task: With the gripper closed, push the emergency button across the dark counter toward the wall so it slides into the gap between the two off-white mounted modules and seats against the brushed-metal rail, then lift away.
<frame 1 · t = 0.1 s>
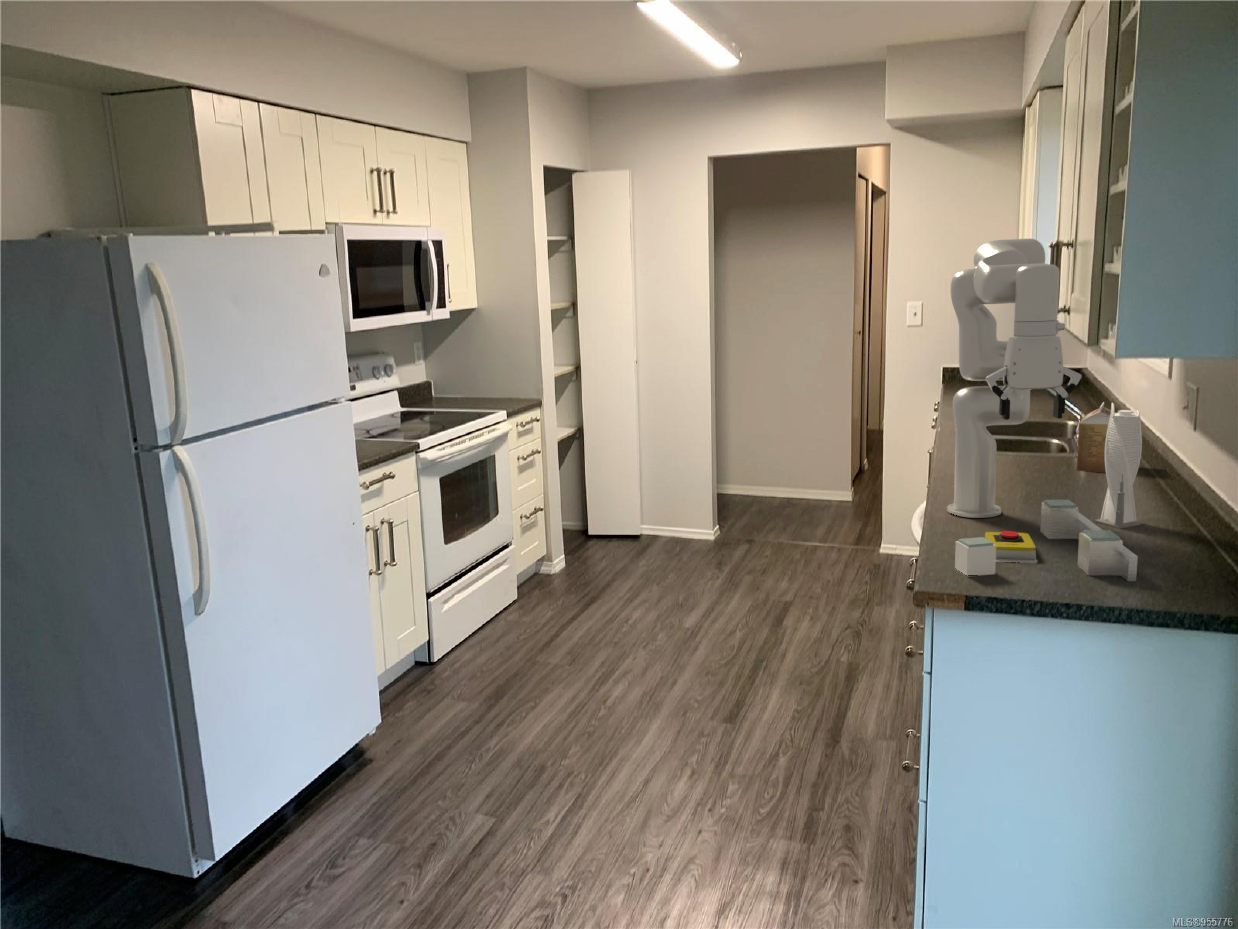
hand: (1031, 418, 177), 31 cm above the counter, tool pointing down, fingers open, 9 cm apart
milk carton: (1098, 468, 267), on the counter
emergency button: (1009, 555, 195), on the counter
rail fixture: (1096, 551, 192), on the counter
skyscraper: (1117, 522, 212), on the counter
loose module: (974, 571, 184), on the counter
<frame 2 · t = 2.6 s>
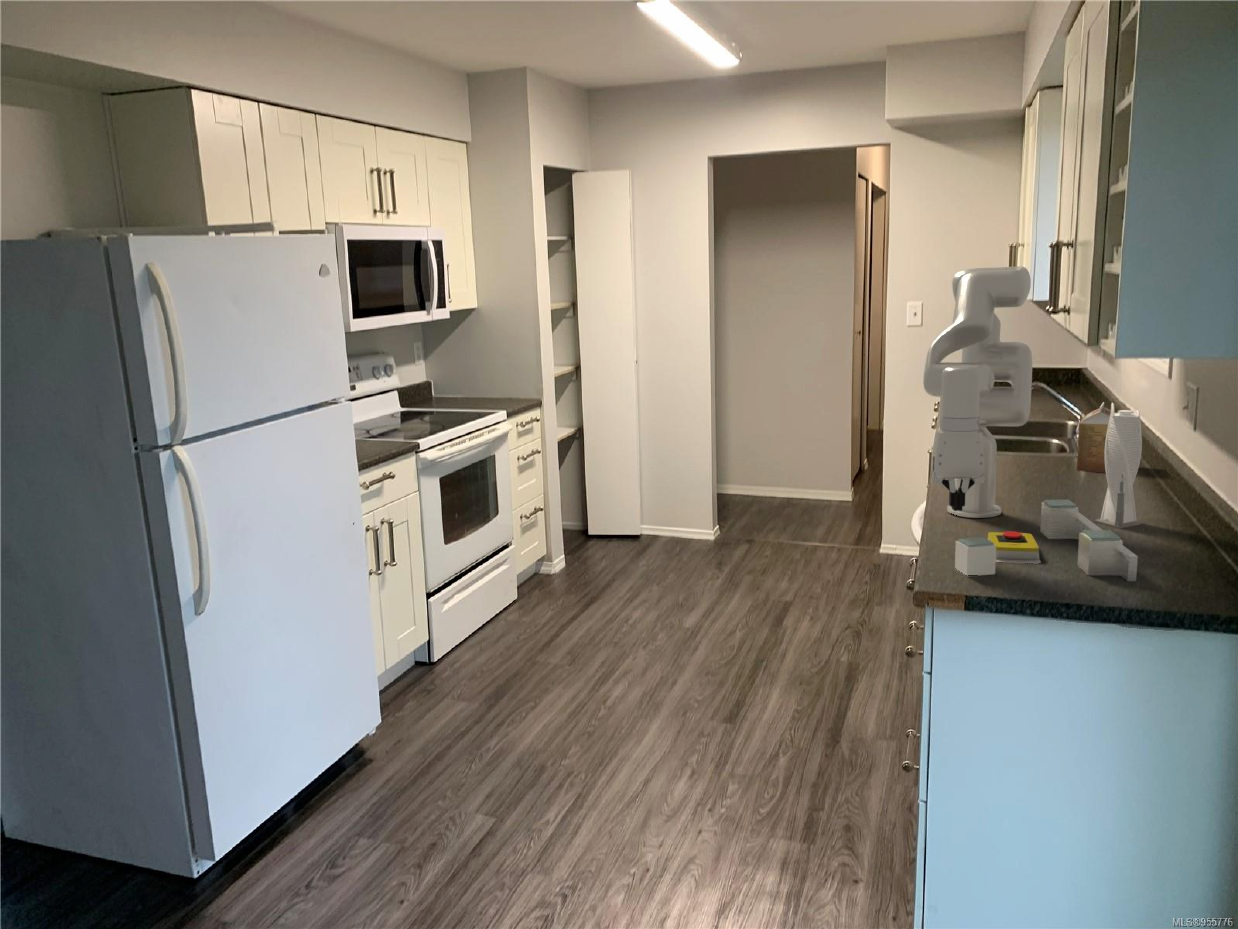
hand: (956, 509, 194), 10 cm above the counter, tool pointing down, fingers closed
nothing on the counter moved.
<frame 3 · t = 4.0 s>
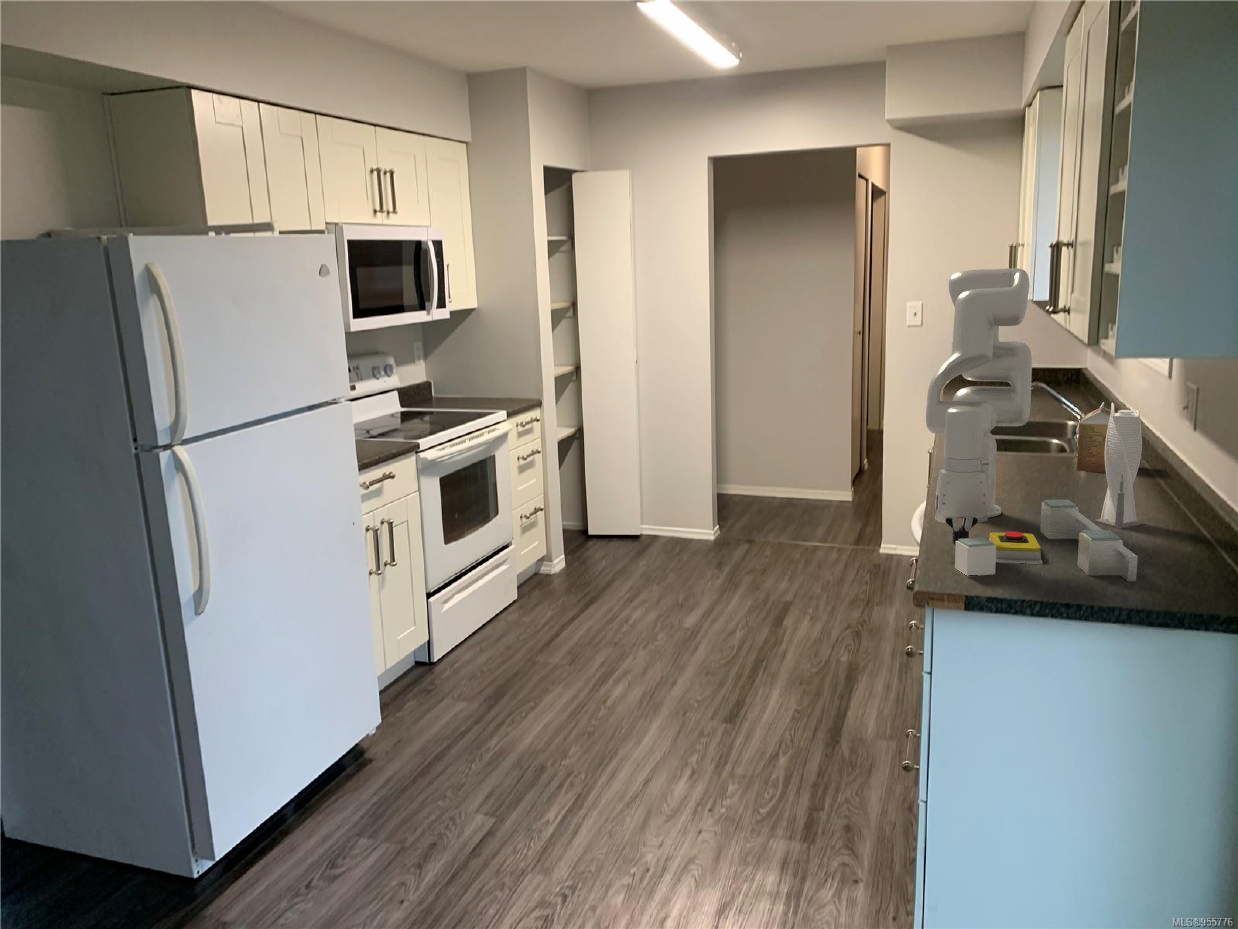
hand: (960, 547, 196), 1 cm above the counter, tool pointing down, fingers closed
nothing on the counter moved.
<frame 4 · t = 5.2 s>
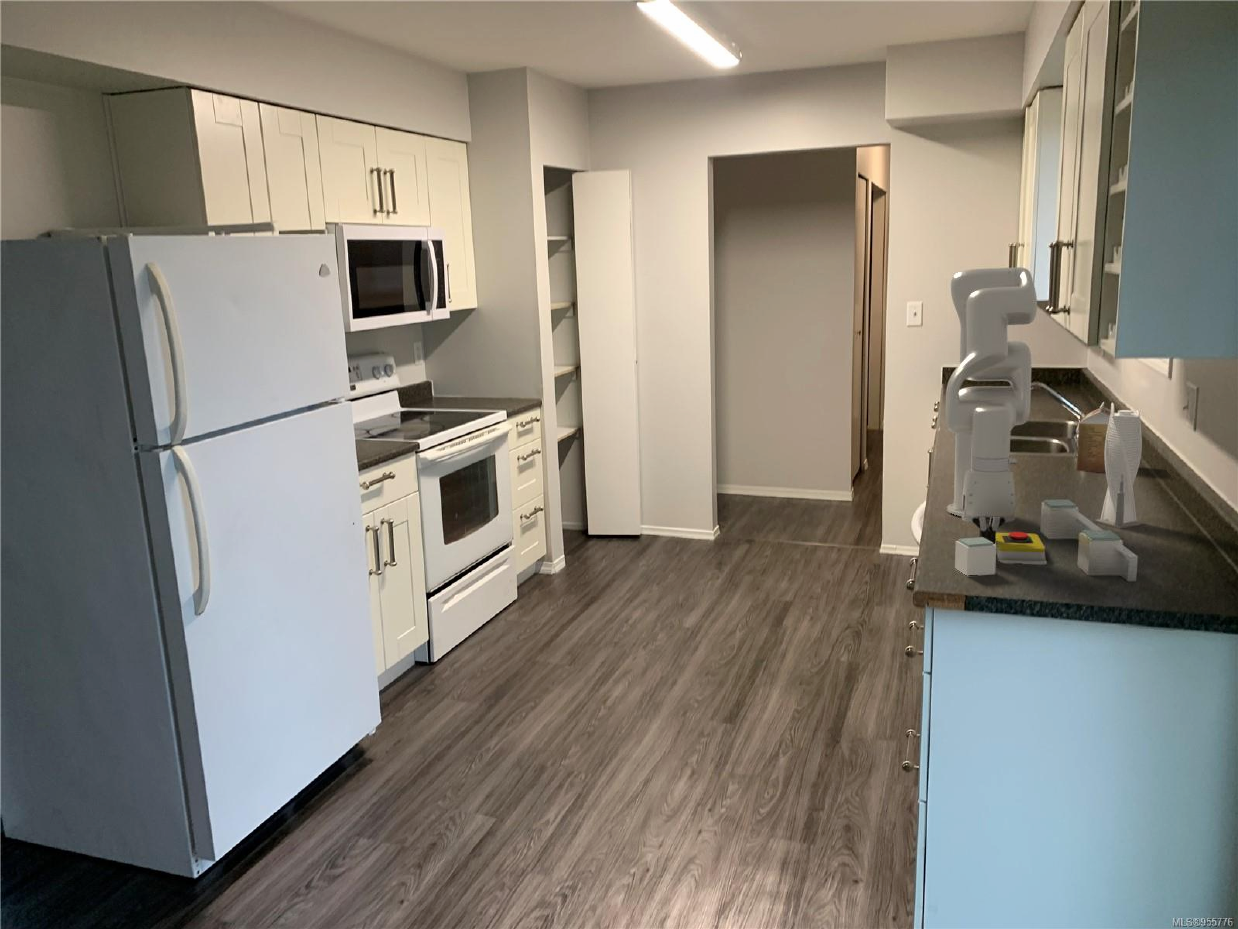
hand: (987, 547, 195), 1 cm above the counter, tool pointing down, fingers closed
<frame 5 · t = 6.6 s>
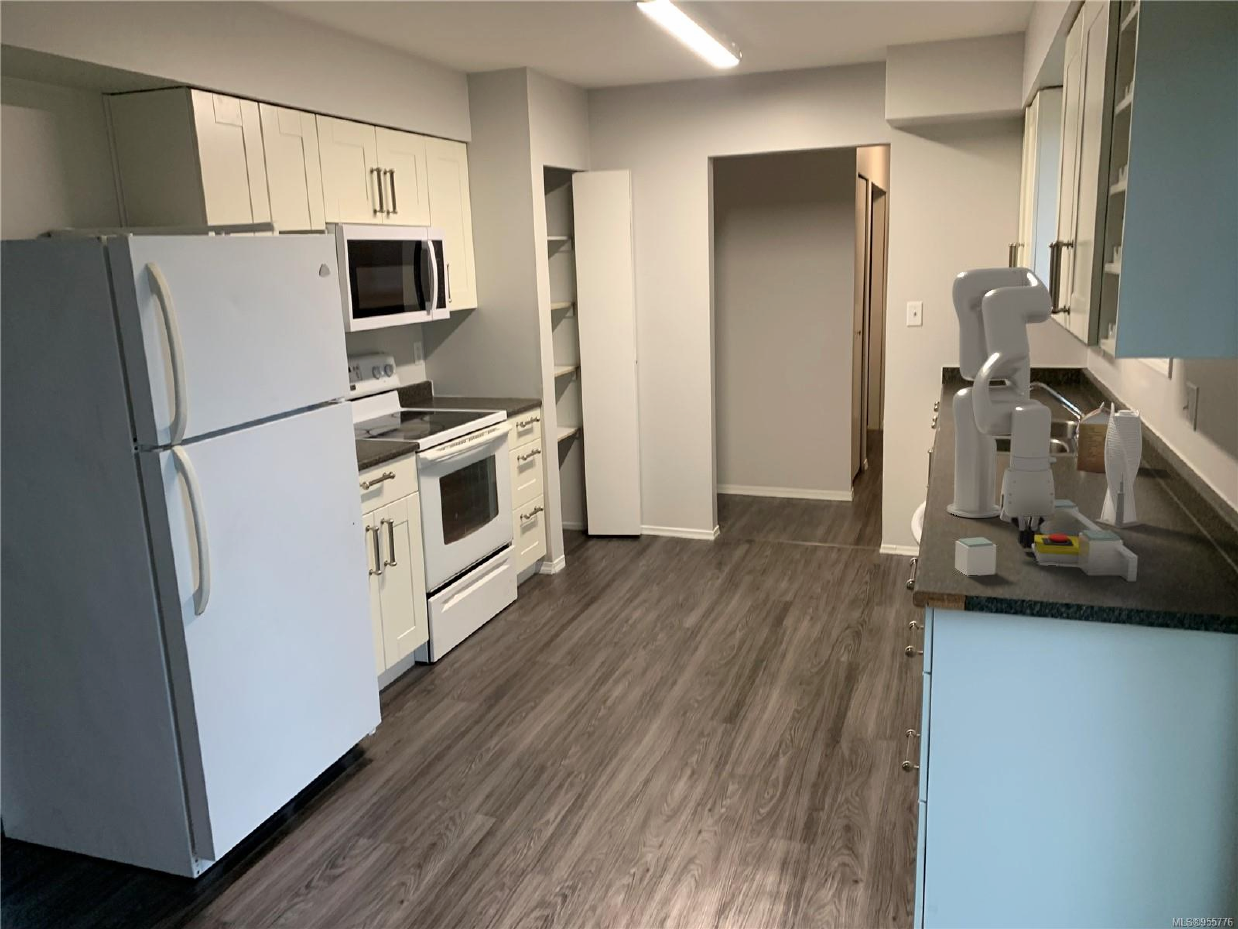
hand: (1025, 546, 194), 1 cm above the counter, tool pointing down, fingers closed
emergency button: (1058, 558, 191), on the counter
everything else where it was.
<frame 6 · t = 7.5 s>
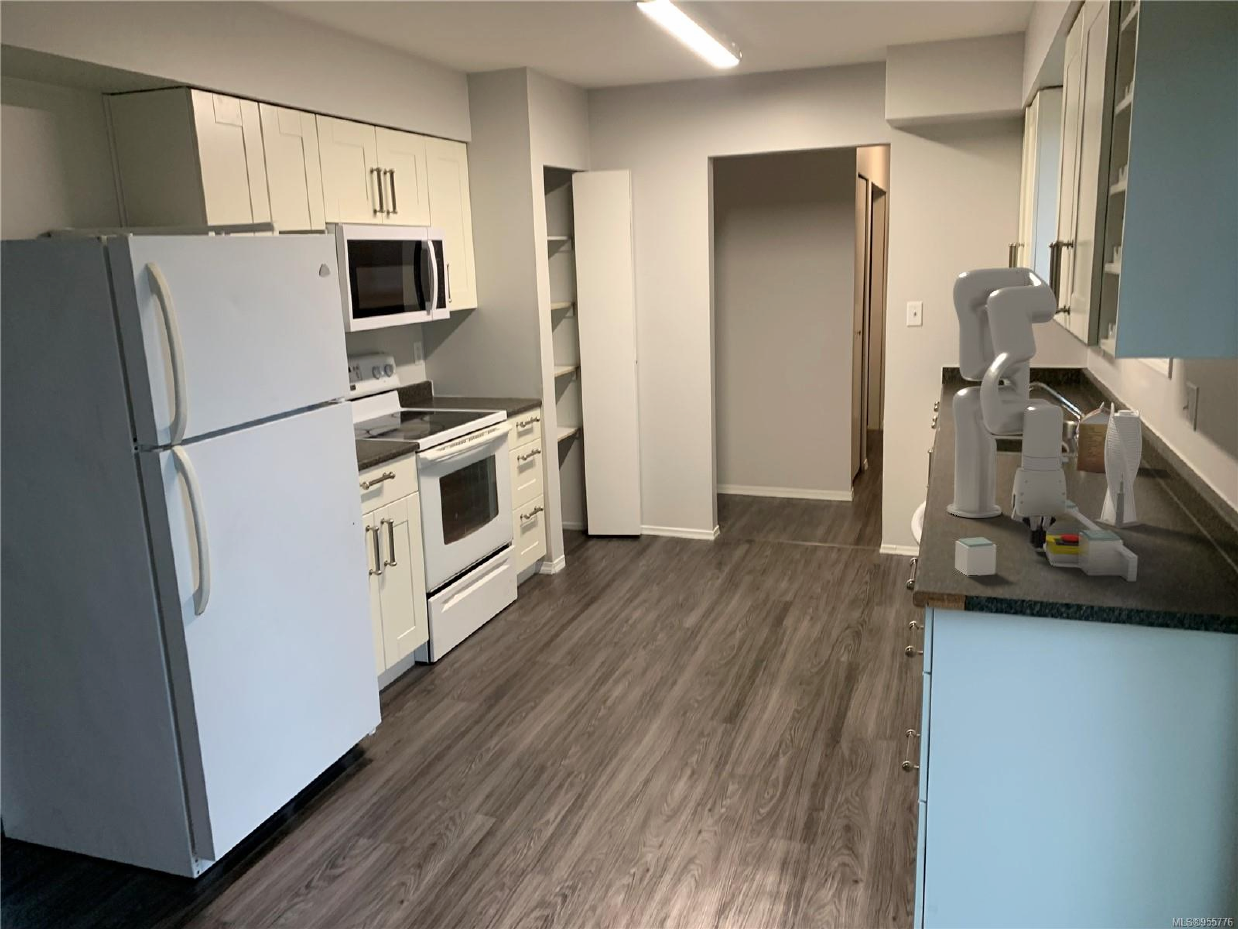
hand: (1037, 546, 194), 1 cm above the counter, tool pointing down, fingers closed
emergency button: (1070, 559, 190), on the counter, touching gripper, rail fixture
everything else where it was.
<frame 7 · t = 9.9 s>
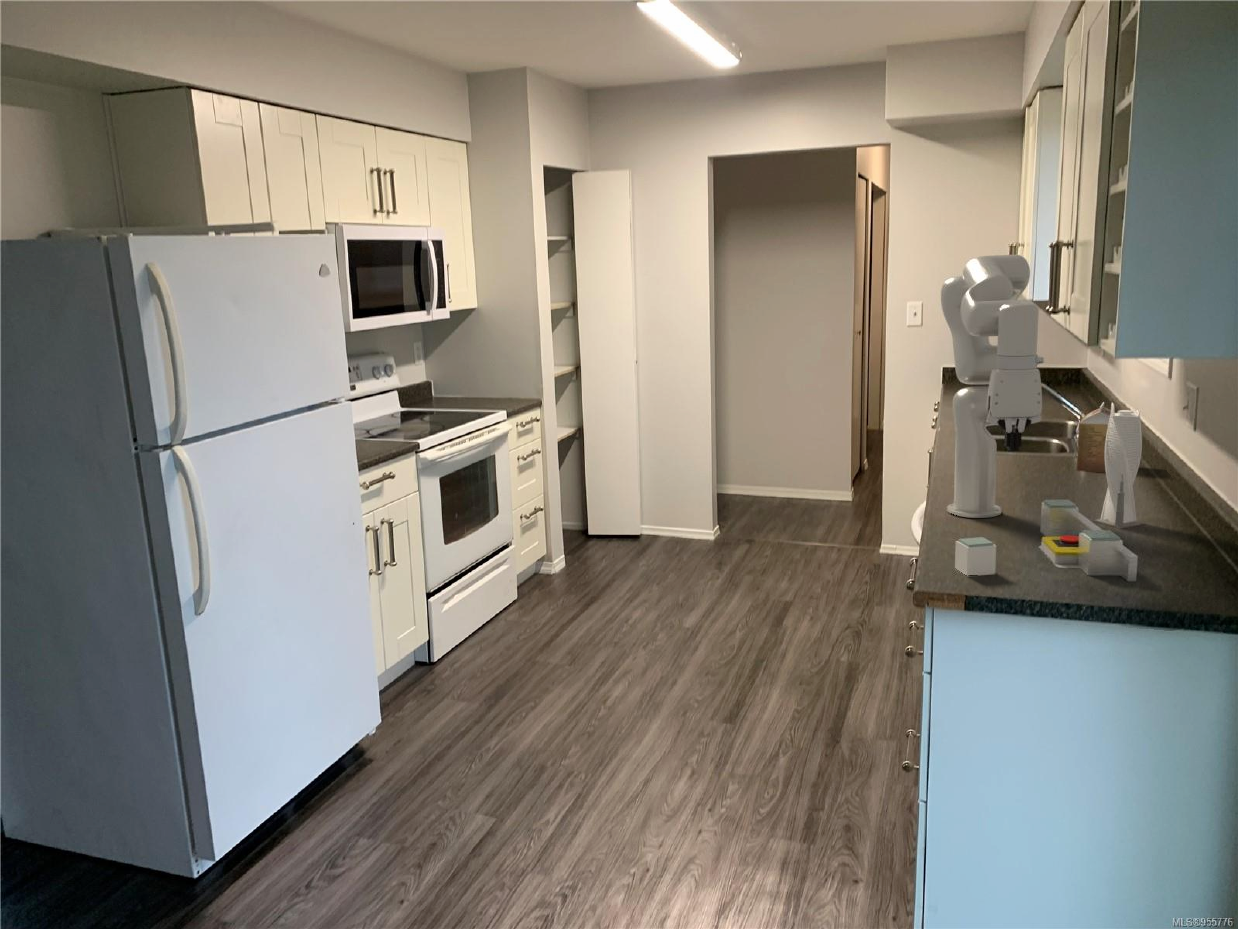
hand: (1012, 449, 191), 22 cm above the counter, tool pointing down, fingers closed
emergency button: (1070, 560, 190), on the counter
everything else where it was.
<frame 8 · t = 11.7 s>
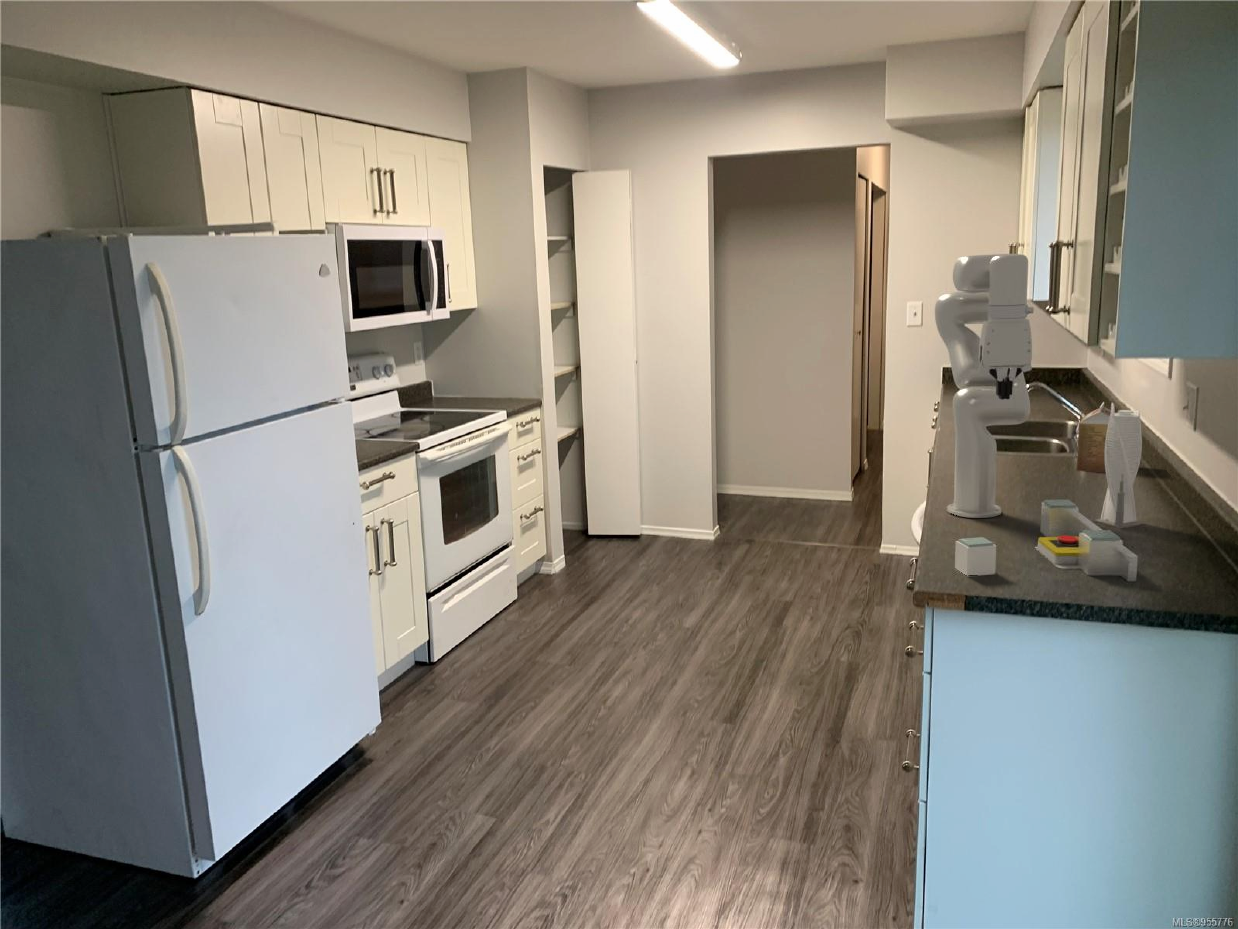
hand: (1003, 398, 197), 32 cm above the counter, tool pointing down, fingers closed
at the end: emergency button inside the target area (3.8 cm from its centre), on the counter; emergency button tilted 0° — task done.
